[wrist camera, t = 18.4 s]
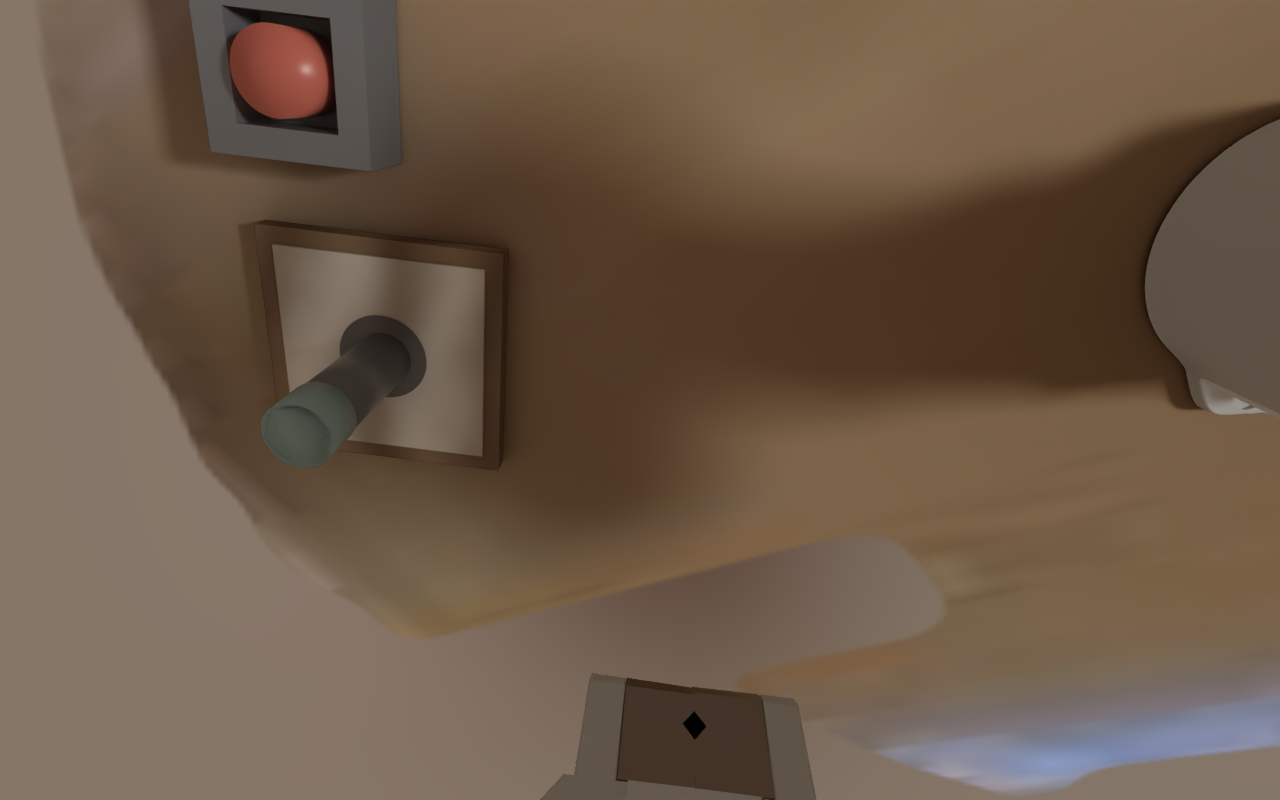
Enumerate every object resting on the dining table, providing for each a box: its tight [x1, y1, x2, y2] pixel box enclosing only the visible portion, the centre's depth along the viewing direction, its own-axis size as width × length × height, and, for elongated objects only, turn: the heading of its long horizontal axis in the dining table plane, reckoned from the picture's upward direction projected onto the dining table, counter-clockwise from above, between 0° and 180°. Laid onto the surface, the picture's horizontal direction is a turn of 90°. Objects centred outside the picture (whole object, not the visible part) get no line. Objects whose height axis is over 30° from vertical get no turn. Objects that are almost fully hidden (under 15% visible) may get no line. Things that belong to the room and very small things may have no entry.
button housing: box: [188, 0, 402, 171], centre depth 34 cm, size 8×8×4 cm
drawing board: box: [254, 220, 508, 470], centre depth 41 cm, size 14×14×2 cm
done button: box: [229, 22, 336, 119], centre depth 32 cm, size 4×4×3 cm
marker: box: [261, 333, 411, 468], centre depth 36 cm, size 3×3×10 cm
